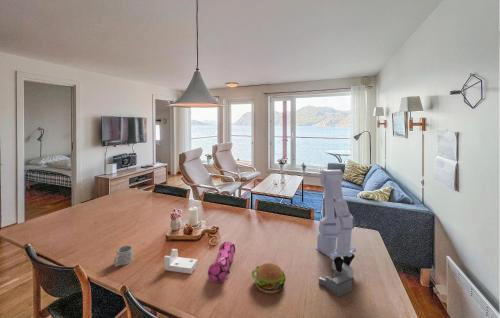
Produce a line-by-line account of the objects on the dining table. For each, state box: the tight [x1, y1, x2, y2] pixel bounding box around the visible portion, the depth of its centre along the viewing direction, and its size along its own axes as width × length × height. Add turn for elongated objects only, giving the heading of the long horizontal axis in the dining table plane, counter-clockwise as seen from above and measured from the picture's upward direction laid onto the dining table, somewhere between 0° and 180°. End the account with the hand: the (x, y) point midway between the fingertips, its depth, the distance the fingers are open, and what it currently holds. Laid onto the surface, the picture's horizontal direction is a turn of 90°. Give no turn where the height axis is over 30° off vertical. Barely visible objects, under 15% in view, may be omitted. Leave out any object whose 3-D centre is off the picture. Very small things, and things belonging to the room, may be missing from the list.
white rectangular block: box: [331, 260, 355, 279], centre depth 106 cm, size 9×4×4 cm, turn 26°
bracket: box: [163, 248, 199, 275], centre depth 109 cm, size 13×7×8 cm, turn 77°
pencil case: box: [207, 241, 236, 283], centre depth 109 cm, size 21×10×10 cm, turn 175°
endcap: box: [318, 270, 353, 298], centre depth 97 cm, size 10×10×5 cm
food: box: [251, 262, 286, 294], centre depth 98 cm, size 14×14×8 cm
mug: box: [113, 245, 134, 267], centre depth 114 cm, size 10×7×7 cm, turn 168°
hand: (342, 269), depth 106 cm, fingers open, 4 cm apart
